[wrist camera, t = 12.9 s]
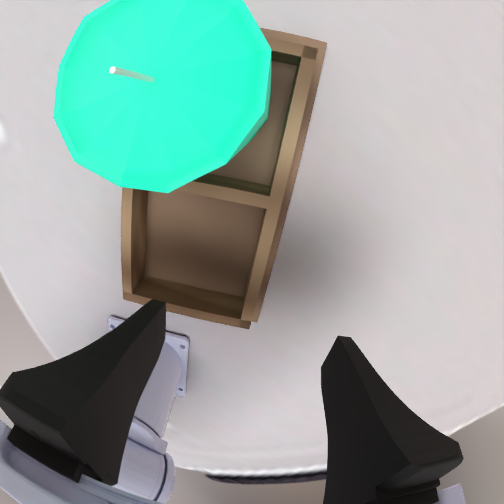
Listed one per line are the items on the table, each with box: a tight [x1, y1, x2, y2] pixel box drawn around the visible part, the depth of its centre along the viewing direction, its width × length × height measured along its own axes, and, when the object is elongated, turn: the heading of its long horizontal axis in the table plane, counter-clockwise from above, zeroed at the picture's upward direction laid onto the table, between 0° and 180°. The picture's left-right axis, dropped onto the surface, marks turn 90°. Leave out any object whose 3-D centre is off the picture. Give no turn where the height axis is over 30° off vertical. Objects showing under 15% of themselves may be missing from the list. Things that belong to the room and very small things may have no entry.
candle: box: [54, 0, 271, 193], centre depth 9 cm, size 6×6×12 cm
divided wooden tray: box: [121, 28, 327, 329], centre depth 16 cm, size 20×10×4 cm, turn 169°
